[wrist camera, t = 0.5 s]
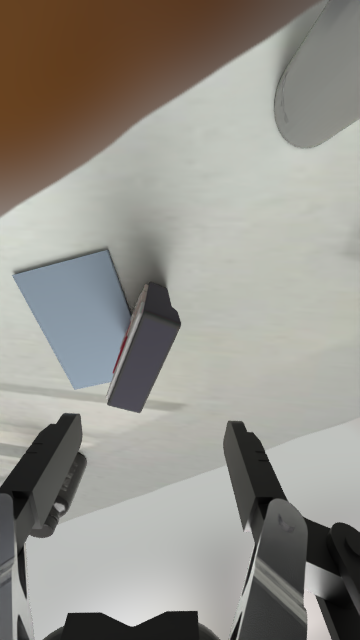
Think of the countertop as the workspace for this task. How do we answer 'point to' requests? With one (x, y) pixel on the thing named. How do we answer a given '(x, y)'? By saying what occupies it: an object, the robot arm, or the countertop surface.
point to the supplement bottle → (63, 498)
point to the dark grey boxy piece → (143, 349)
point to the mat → (79, 314)
